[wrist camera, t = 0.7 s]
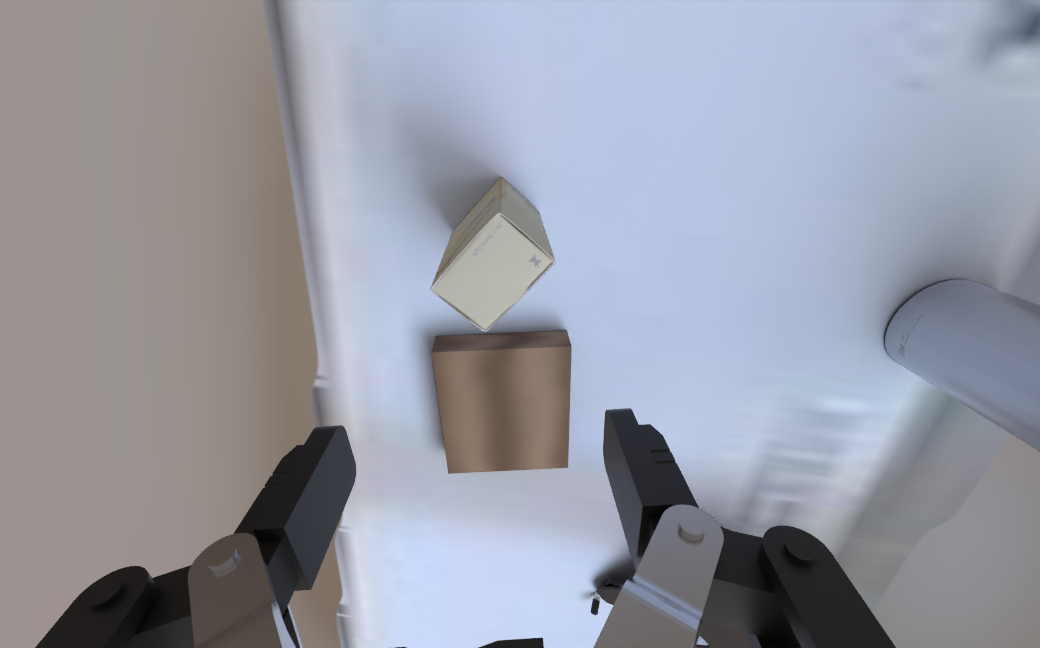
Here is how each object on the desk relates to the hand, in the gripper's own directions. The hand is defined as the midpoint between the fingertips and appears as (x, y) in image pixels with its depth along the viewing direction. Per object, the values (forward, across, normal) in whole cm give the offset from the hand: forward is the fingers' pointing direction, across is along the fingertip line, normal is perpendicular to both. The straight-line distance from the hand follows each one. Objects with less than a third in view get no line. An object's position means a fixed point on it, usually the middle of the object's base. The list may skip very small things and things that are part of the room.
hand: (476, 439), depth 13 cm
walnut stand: (+24, 0, +16) cm, 29 cm away
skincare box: (+24, 0, -1) cm, 24 cm away
